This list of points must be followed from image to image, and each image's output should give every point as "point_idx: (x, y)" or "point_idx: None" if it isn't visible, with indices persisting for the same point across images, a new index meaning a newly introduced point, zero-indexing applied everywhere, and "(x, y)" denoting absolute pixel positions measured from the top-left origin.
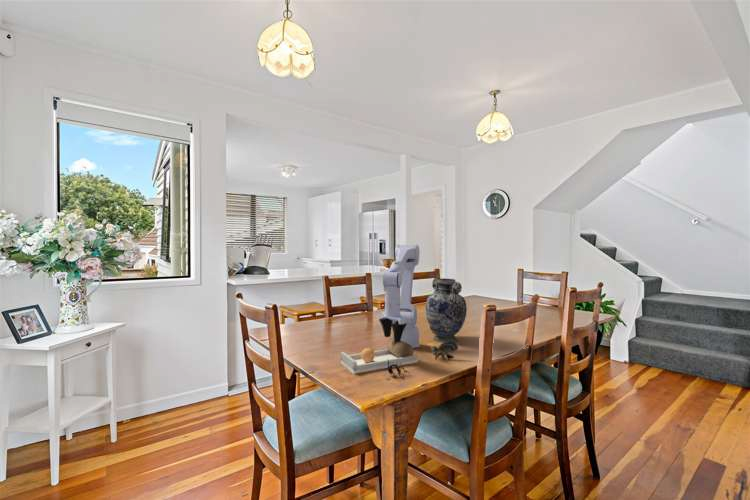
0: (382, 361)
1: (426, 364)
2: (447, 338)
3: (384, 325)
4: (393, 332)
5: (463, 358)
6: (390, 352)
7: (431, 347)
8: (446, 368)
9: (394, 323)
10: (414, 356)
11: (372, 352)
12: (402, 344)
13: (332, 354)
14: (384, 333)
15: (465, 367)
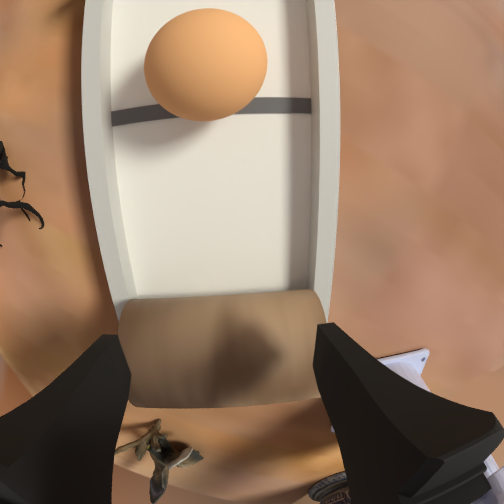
0: (86, 145)
1: None
2: (324, 492)
3: (374, 419)
4: (69, 396)
5: (152, 468)
6: None
7: (183, 457)
8: None
9: (12, 498)
10: None
11: (153, 84)
12: (143, 373)
13: (458, 8)
14: (338, 341)
15: None
